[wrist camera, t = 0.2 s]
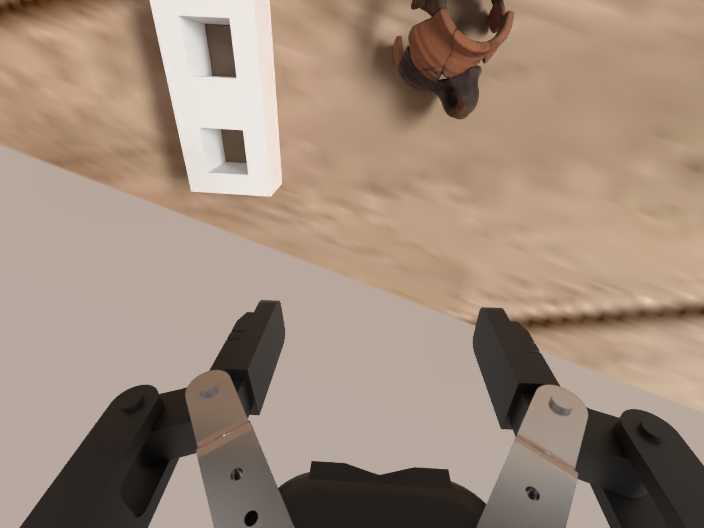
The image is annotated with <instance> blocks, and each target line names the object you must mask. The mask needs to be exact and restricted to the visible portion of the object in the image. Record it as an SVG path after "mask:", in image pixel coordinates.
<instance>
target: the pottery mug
mask: <svg viewBox="0 0 704 528" xmlns="http://www.w3.org/2000/svg"><path fill="white" fill-rule="evenodd" d="M491 1H492V4H493V7H492V9H491V11H490V14H489V16H488V18H487V22H488V25H489V28H490V29H491V31H492V33H496V32H497V34H496V35H495V37H494V38H493V39H491V40H489V41H487V42H478V41H474V40H471V39H469V38H468V37H466V36H465V35H463V34H462V33H461V32H460V31H459V30H458V29H457V28H456V26H455V24H454V23H453V21H452V19H451V16H450V14H449V11H448V9H447V6H446V5H447V3H446V0H413V1H412V4H411V8H412V9H417V8H419V7H420V9H422V10H424V11H426V12H428V14H430V15H431V16H432V17H431V18H430V19H427V20H425V21H423V22H421V23H419V24H417V25H415V26H413V27H412V29H411V31H410V33H409V36H408V39H409V46H408V47H407V48H406V50H405V53H404V50H403V44H402V37H401V36H397V37H396V39H395V43H394V46H393V58H394V62H395V65H396V67H397V69H398V72H399V74H400V75H401V77H402V78H403V80H404V81H406V82H407V83H408V84H409V85H410V86H411V87H413V88H415V89H418V90H421V91H431V92H435V93H436V94H437V95H438V97H439V98H440V100H441V102H442V105H443V107H444V110H445V112H446V113H447V114H448V115H449V116H450V117H454V118H456V119H464V118H466V117H467V116H468V114H469V113H471V112H472V111H473V110H474V109H475V107H476V105H477V102H478V97H479V89H478V78H479V76H480V73H481V67H480V66H476V65H477V64H478V63H480V61H481V60H482V61H483V63H486V62H488V61H489V59H490V58H491V57H492V56H493V54H494V53H495V52H496V50H497V48H498V47H499V45H501V44H502V43H503V42H504V40H505V39H506V38H507V36H508V34H509V32H510V30H511V28H512V23H513V18H514V12H511V11H508V12H506V13H505V6H504V2H503V0H491ZM441 74H443V75H444V76H445V77H446V78H447V79H441V80H439V77H440V76H441Z"/></svg>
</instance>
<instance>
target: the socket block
mask: <svg viewBox="0 0 704 528" xmlns="http://www.w3.org/2000/svg"><path fill="white" fill-rule="evenodd" d="M150 5H151V9H152V14H153V18H154V23H155V28H156V32H157V37H158V41H159V46H160V51H161V55H162V60H163V64H164V69H165V73H166V78H167V83H168V87H169V92H170V96H171V101H172V106H173V110H174V115H175V119H176V124H177V129H178V133H179V138H180V142H181V147H182V152H183V156H184V161H185V165H186V170H187V175H188V179H189V184H190V188H191V191H192V192H207V193H223V194H238V195H254V196H269V197H271V196H272V195H273V193H274V192H275V191H276V190H277V189H278V188H279V186H280V185H281V184H282V175H281V160H280V146H279V131H278V116H277V102H276V87H275V72H274V58H273V43H272V28H271V14H270V0H150ZM205 24H221V25H230V28H231V36H232V45H233V53H234V61H235V69H236V77H224V76H213V75H212V68H211V62H210V55H209V49H208V42H207V36H206V29H205ZM221 129H230V130H243V136H244V144H245V152H246V160H247V163H238V162H226V160H225V153H224V147H223V140H222V134H221Z"/></svg>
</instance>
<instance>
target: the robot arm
mask: <svg viewBox="0 0 704 528" xmlns="http://www.w3.org/2000/svg"><path fill="white" fill-rule="evenodd" d="M284 339H285V327H284V321H283V314H282V308H281V303H280V301H271V300H261V301H260V302H259V303H258V306H257V307H256V309H255V312H254V313H253V312H247V313H246V314H245V315H243V316H242V317H241V318H240V319H239V320H237V322H236V324H235V326H234V327H233V330H232V332H231V333H230V335H229V336H228V340H227V341H226V342H225V344H224V346H223V347H222V349H221V351H220V353H219V354H218V356H217V358H216V360H215V362H214V363H213V365H212V367H211V369H210V370H209V371H208V372H205V373H203V374H201V375H199V376H197V377H196V378H195V379H193V381H192V382H191V383H190V384H189V385H188V387H187V388H184V389H180V390H175V391H171V392H166V393H162V394H159V393H158V391H157V389H156V388H155V387H153V386H151V385H139V386H136V387H133V388H130V389H128V390H126V391H125V392H123V393H121V394H120V395H119V396H117V397H116V398H115V399H114V400H113V401H112V402H111V404H110V405H109V406H108V408H107V409H106V411H105V412H104V413H103V415H102V416H101V417H100V419H99V420H98V422H97V423H96V424H95V426H94V427H93V428H92V430H91V431H90V432H89V434H88V435H87V436H86V438H85V439H84V441H83V442H82V443H81V445H80V446H79V447H78V449H77V450H76V451H75V453H74V454H73V456H72V457H71V458H70V460H69V461H68V462H67V464H66V465H65V466H64V468H63V469H62V471H61V472H60V473H59V475H58V476H57V477H56V479H55V480H54V482H53V483H52V484H51V486H50V487H49V488H48V490H47V491H46V492H45V494H44V495H43V497H42V498H41V499H40V501H39V502H38V503H37V505H36V506H35V507H34V509H33V510H32V512H31V513H30V514H29V516H28V517H27V518H26V520H25V521H24V522H23V524H22V525H21V527H20V528H148V526H149V524H150V522H151V519H152V517H153V515H154V513H155V511H156V508H157V506H158V504H159V502H160V499H161V497H162V495H163V493H164V491H165V488H166V486H167V484H168V482H169V480H170V477H171V475H172V473H173V471H174V468H175V466H176V464H177V462H178V460H179V458H180V457H183V456H187V455H191V454H194V453H197V457H198V462H199V466H200V470H201V474H202V478H203V483H204V487H205V491H206V496H207V500H208V504H209V507H210V512H211V516H212V521H213V525H214V528H566V524H567V520H568V516H569V512H570V508H571V504H572V500H573V496H574V492H575V487H576V483H577V479H580V480H582V481H585V482H588V483H590V485H591V487H592V489H593V491H594V493H595V495H596V498H597V500H598V502H599V504H600V506H601V509H602V511H603V513H604V515H605V517H606V519H607V521H608V524H609V526H610V528H704V466H703V464H702V463H701V462H700V460H699V459H698V458H697V457H696V455H695V454H694V453H693V451H692V450H691V449H690V448H689V446H688V445H687V444H686V443H685V441H684V440H683V438H682V437H681V436H680V435H679V433H678V432H677V431H676V430H675V429H674V428H673V427H672V426H670V425H669V424H668V423H667V422H665V421H664V420H662V419H661V418H659V417H657V416H655V415H653V414H651V413H649V412H646V411H642V410H637V409H631V410H626V411H624V412H623V413H622V415H621V416H620V418H617V417H614V416H611V415H608V414H605V413H601V412H598V411H595V410H592V409H589V408H587V407H585V405H584V403H583V402H582V401H581V400H580V399H579V398H578V397H577V396H576V395H575V394H573V393H572V392H570V391H569V390H566V389H565V388H562V387H560V385H559V383H558V382H557V380H556V378H555V377H554V375H553V373H552V371H551V370H550V368H549V367H548V365H547V363H546V361H545V360H544V358H543V356H542V354H541V353H539V349H538V348H537V346H536V344H534V341H533V339H532V337H531V336H530V334H529V332H528V331H527V330H526V329H525V328H524V327H522V326H521V325H520V324H519V323H518V322H512V321H510V320H509V318H508V317H507V315H506V313H505V311H504V309H502V308H484V307H482V308H481V309H480V311H479V315H478V319H477V323H476V327H475V331H474V336H473V349H474V353H475V356H476V359H477V361H478V364H479V367H480V370H481V373H482V376H483V379H484V382H485V384H486V387H487V390H488V393H489V396H490V399H491V402H492V404H493V407H494V410H495V413H496V416H497V419H498V422H499V424H500V427H501V429H513V431H514V433H515V436H516V438H515V440H514V443H513V445H512V447H511V450H510V452H509V454H508V456H507V459H506V461H505V463H504V466H503V468H502V470H501V472H500V475H499V477H498V479H497V482H496V484H495V486H494V488H493V491H492V493H491V495H490V497H489V500H488V502H487V504H486V503H485V502H483V501H482V500H481V499H480V498H479V497H477V496H476V495H475V494H474V493H472V492H471V491H469V490H468V489H466V488H465V487H463V486H460V485H458V484H456V483H454V482H451V481H450V476H449V471H448V469H447V470H446V469H432V468H410V469H405V470H400V471H396V472H392V473H387V474H383V475H377V474H374V473H371V472H368V471H365V470H363V469H360V468H357V467H354V466H351V465H348V464H345V463H333V462H317V461H312V463H311V468H310V472H308V473H304V474H301V475H299V476H296V477H294V478H292V479H290V480H289V481H287V482H285V483H284V484H283V485H281V486H280V487H279V488H278V487H277V485H276V482H275V480H274V477H273V475H272V473H271V470H270V468H269V466H268V463H267V461H266V458H265V456H264V453H263V451H262V449H261V446H260V444H259V442H258V439H257V437H256V434H255V432H254V429H253V427H252V425H251V423H250V421H248V417H249V415H260V412H261V409H262V406H263V403H264V400H265V397H266V394H267V391H268V388H269V385H270V382H271V379H272V376H273V374H274V371H275V368H276V365H277V362H278V359H279V356H280V353H281V350H282V347H283V344H284Z"/></svg>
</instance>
